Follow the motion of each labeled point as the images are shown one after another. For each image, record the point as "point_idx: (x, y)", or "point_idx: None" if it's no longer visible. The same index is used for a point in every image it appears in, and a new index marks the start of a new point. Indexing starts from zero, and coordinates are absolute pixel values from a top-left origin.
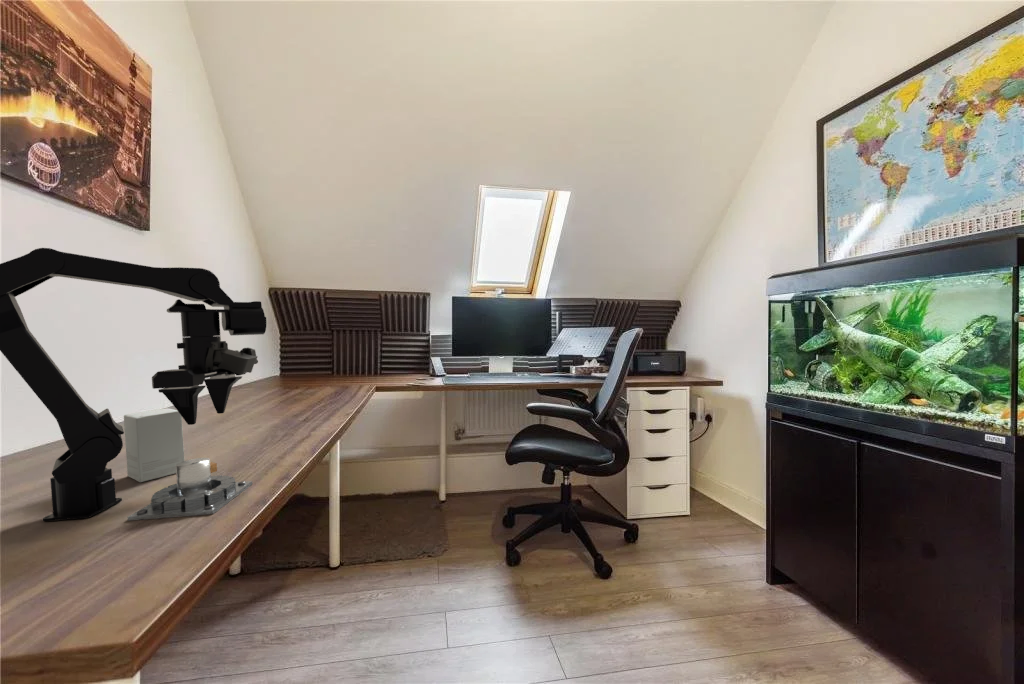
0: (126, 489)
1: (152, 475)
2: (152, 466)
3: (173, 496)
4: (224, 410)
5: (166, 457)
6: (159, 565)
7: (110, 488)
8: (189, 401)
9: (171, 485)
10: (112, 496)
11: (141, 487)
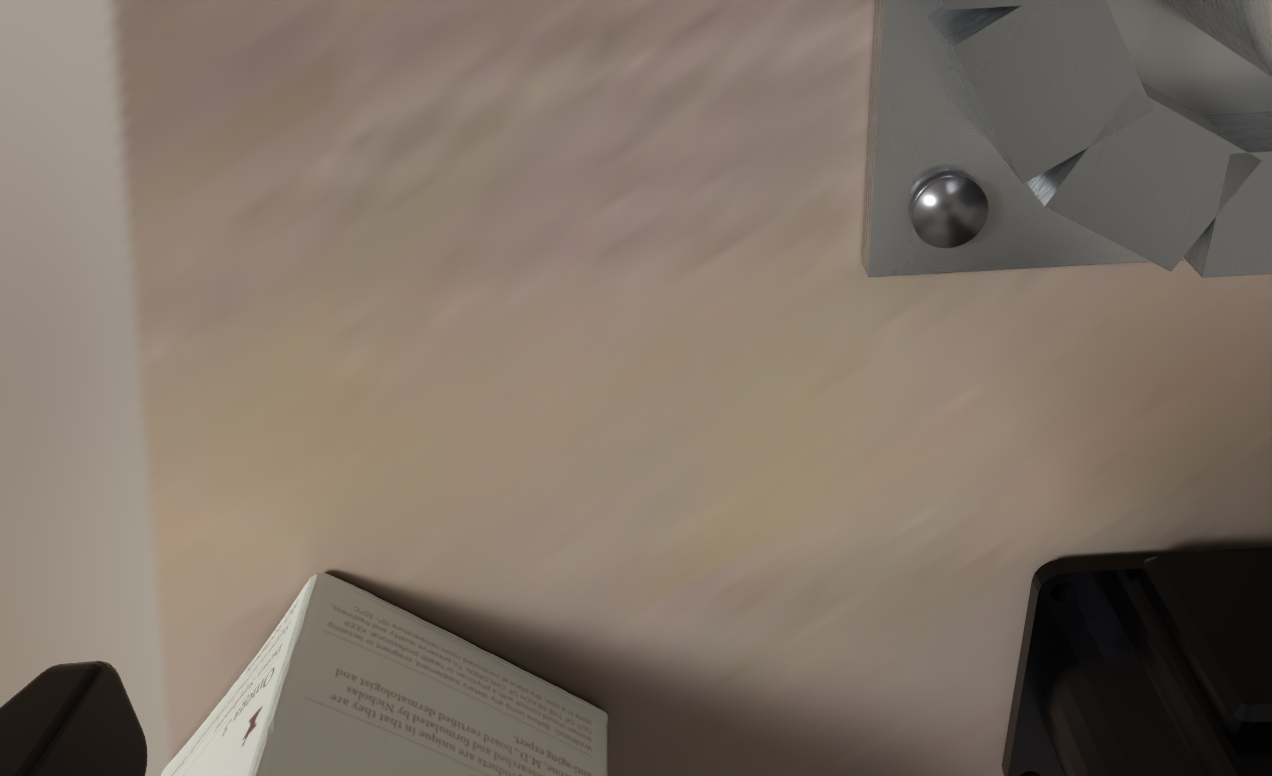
0: (747, 702)
1: (538, 700)
2: (530, 766)
3: (1267, 121)
4: (29, 696)
5: (426, 767)
6: None
7: (1264, 646)
8: None
9: (1152, 252)
10: (1207, 593)
11: (722, 632)
